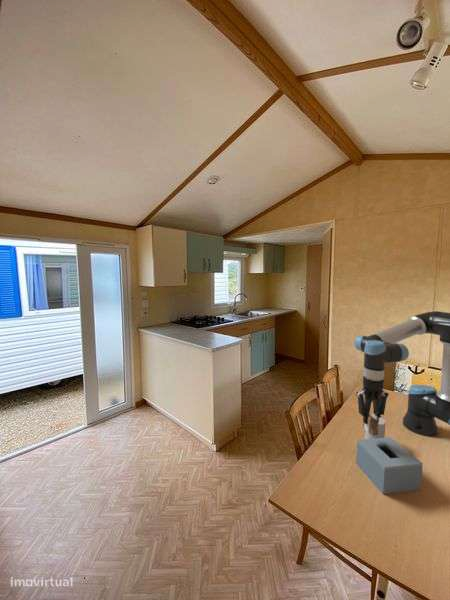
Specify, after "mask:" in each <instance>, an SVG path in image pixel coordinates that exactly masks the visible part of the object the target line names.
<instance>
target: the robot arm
mask: <svg viewBox="0 0 450 600" xmlns="http://www.w3.org/2000/svg"><path fill="white" fill-rule="evenodd" d="M424 334H431V335H436V336H439V342H440V343H442V345H443V346H442V347H443V348H442V360H441V361H442V363H441V364H442V365H441V377H440V391H438V390H437V389H436V388H435V387H433V386H430V385H425V384H413V385H410V386H409V387H408V397H407V399H408V400H407V411H406V412H405V415H404V416H403V418H402V425H403V426H404V427H405V428H406V429H408V430H409V431H411V432H413V433H415V434H418V435H421V436H426V437H427V436H428V437H434V436H437V435H438V432H439V429H438V425H437V422H436V419H437V420H440V421H441V422H444V423H445V424H448V425H449V426H450V312H446V311H436V310H435V311H427V312H423V313H418V314H416V315H413V316H411V317H409V318H408V319H407V320H406V321H403V322H401V323H398V324H396V325H394V326H391V327H388V328H386V329H383V330H381V331H379V332H376V333H374V334H371V335H369V336H367V335H362V334H359V335H358V336H357V337H356V338H355V340H354V346H355V348H356V350H358V351H360V352H361V353H362V352H363V356H364V357H363V358H364V359H363V376H362V386H363V387H362V390H361V391H356V396H357V402H358V403H357V404H358V414H360V415H361V416H362V422H364V427H363V429H364V430H365V432H366V431H367V432H370V420H371V418H370V417H369V414H370V413H371V412H370V411H371V406H372V405H373V406H372V408H373V409H372V411H373V413H371V415H372V417H374V418H375V419H376V420H377V421H378V423H379V418H382V416H384V415H385V411H386V405H387V399H388V396H389V392H387V391H385V390H384V383H385V382H384V379H385V364H389V363H398V362H399V363H400V362H403V361H405V360H407V359H408V358H409V357H410V355H409V354H410V351H409V348H408V347H407V346H406V344H402V343H400V342H401V341H404V340H407V339H408V338H411V337H413V336H416V335H418V336H419V335H420V336H422V335H424Z"/></svg>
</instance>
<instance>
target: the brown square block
mask: <svg viewBox="0 0 450 600" xmlns="http://www.w3.org/2000/svg"><path fill="white" fill-rule="evenodd" d="M371 415H372V414H370V413H369V417H370V418H371V420H370V432H369V433H370V434H371V435H378V421H377V420H376V419H375V418H374V417H372V416H371ZM362 422H363V421H362ZM362 426H363V428H364V422H363V423H362Z"/></svg>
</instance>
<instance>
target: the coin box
mask: <svg viewBox="0 0 450 600" xmlns="http://www.w3.org/2000/svg"><path fill="white" fill-rule="evenodd" d="M356 440H357V439H356ZM355 464H356V465H357V466H358V467H359V469H360V470H361V471H362V472H363V473H364V474H365V475H366V476H367V478H368V479H369V480H370V481H371V482H372V484H373V485H374V486H375V487H376V488H377V490H379V492H380V493H381V494H382V495H388V494H395V493H404V492H411V491H421V489H422V488H421V487H422V477H423V464H424V463H423V462H422V461H421V460H419V459H418V458H417V457H416V456H414V455H413V454H412V453H411V452H410V451H408V450H407V449H406V448H405V447H403V446H402V445H401V444H400V443H399V442H397V441H396V440H395V439H393V438H392V437H391V436H388V437H387V436H386V437H384V438H375V439H358V440H357V444H356V463H355Z"/></svg>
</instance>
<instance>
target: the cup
mask: <svg viewBox="0 0 450 600" xmlns="http://www.w3.org/2000/svg"><path fill="white" fill-rule="evenodd" d="M370 415H371V416H372V414H370ZM364 434H365V436H364V438H365V439H375V438H386V437H385V434H386V420H385V419H384V418H383V417H381V418H379V423H378V435H371V434H370V433H369V432H367V431H366V430H365V432H364ZM365 439H364V440H365Z"/></svg>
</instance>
